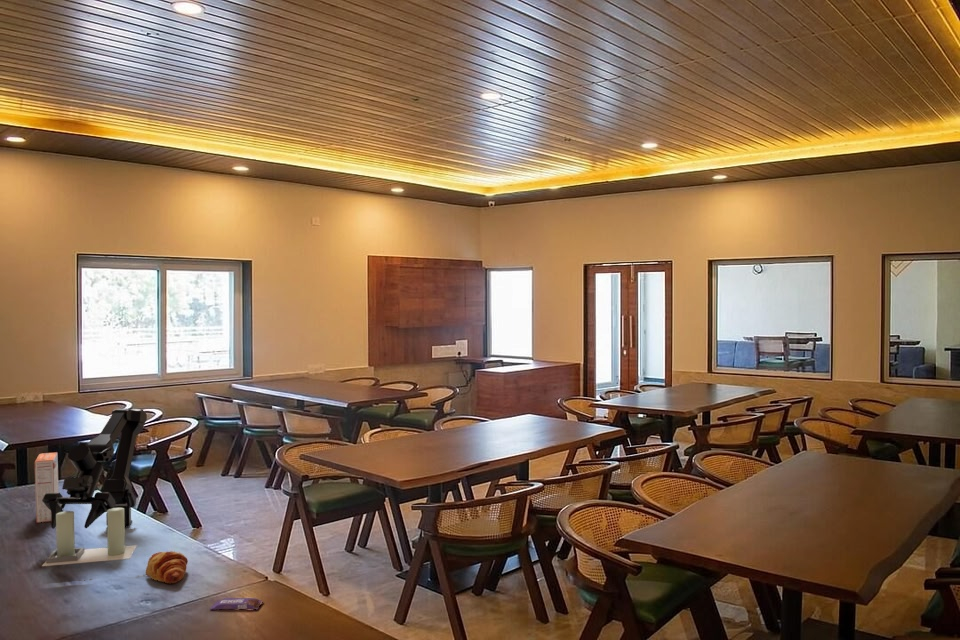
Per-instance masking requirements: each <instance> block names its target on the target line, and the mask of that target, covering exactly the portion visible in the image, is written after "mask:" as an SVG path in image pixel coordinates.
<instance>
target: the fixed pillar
mask: <svg viewBox="0 0 960 640" xmlns="http://www.w3.org/2000/svg"><path fill="white" fill-rule="evenodd" d="M106 513H107V519H106V526H107V527H106V529H107V548H108V555H110V556H115V555H120V554H123V553H125V546H126V545H125V544H126V542H125V541H126V540H125V539H126V538H125V537H126V536H125V528H126V527H125V526H124V508H112V509H109V510H107V512H106Z"/></svg>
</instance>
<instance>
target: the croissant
mask: <svg viewBox="0 0 960 640" xmlns="http://www.w3.org/2000/svg"><path fill="white" fill-rule="evenodd" d="M188 561H189V560H188V558H187V557H186V556H185V555H184V554H183V553H181V552H176V551H172V550H171V551H159V552H156V553H153V554H152V555H151V556H150V557H149V559H148V561H147V566H146V568H145V576H147V577H150V578H152V579H151V580H153V579H154V580H153V581H157V580H158V581H157V582H161V583H164V582H165V583H166V584H171V583H172V584H176V583H177V582H180V581H181V580H183V578H184V576H185V574H186V573H187V565H188Z"/></svg>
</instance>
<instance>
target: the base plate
mask: <svg viewBox="0 0 960 640" xmlns="http://www.w3.org/2000/svg"><path fill="white" fill-rule="evenodd" d="M136 547H138V545H137V544H134V545H125V553H123V554H120V555H115V556H110V555H108V547H98V548H87V549H85V547H77V548H76V547H75V556H66V557H57V549H54V550H53V551H52V552H51V553H50V554H49V555H48V556H47V557H46V558H45V561H44V563H43V564H42V565H41V567H49V566H51V567H52V566H61V565H71V564H84V563H94V562H104V561H105V562H107V561H119V560H127V559H128V560H129V559H131V557H132V555H133V553H134V552H135V550H136Z"/></svg>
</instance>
